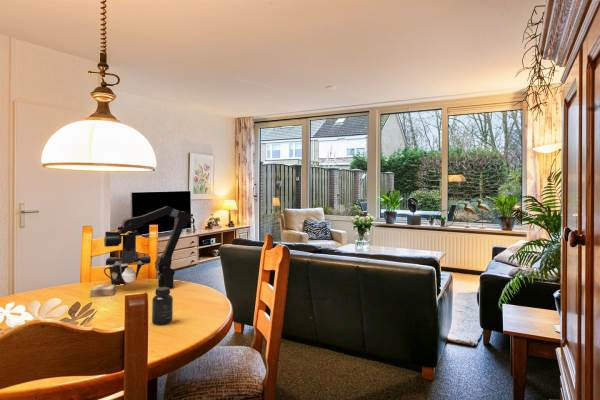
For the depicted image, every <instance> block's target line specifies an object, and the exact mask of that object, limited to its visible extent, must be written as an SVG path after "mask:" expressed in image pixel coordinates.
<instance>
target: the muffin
mask: <svg viewBox="0 0 600 400" xmlns="http://www.w3.org/2000/svg"><path fill="white" fill-rule="evenodd" d="M122 278H123V279H124V281H125V282H126V283H133V281H134V280H135V279H136V271H135V270H134V268H133V267H131V266H128V267H127V268H125V271H124V272H123V273H122Z"/></svg>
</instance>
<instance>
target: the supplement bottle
mask: <svg viewBox="0 0 600 400" xmlns="http://www.w3.org/2000/svg"><path fill="white" fill-rule="evenodd" d="M154 291H155V292H154V293H155V295H154V296H153V298H152V300H151V323H152V325H155V326H166V325H169V324H170V323H172V322H173V319H174V318H173V317H174V315H173V313H174V311H173V309H174V304H173V303H174V299H173V296H172V295H171V288H169V287H156V288H155V290H154Z"/></svg>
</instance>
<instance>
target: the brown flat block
mask: <svg viewBox="0 0 600 400" xmlns="http://www.w3.org/2000/svg"><path fill="white" fill-rule="evenodd" d="M116 292H117V286H116V285H111V284H104V285H103V284H102V285H94V286H93V287H92V288H91V290H90V298H101V297H102V298H103V297H113V296H115V293H116Z"/></svg>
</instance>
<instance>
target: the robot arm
mask: <svg viewBox="0 0 600 400" xmlns="http://www.w3.org/2000/svg"><path fill="white" fill-rule="evenodd" d="M165 216H169V217H172V218H174V222H173V225H174V226H173V228H172V231H171V234H170V236H169V239H168V240H167V243H166V246H165V248H164V251H163V252H162V254H161V255H157V257H156V260H155V261H154V268H155V270H156V271H157V272H158V273H159V278H158V286H157V288H159V287H169V288H170V289H174V287H175V286H174V276H175V274H176V272H175V270H174V269H173V268H172V260H173V259H172V257H173V254H174V252H175V249H176V247H177V245H178V242H179V239H180V237H181V235H182V232H183V230H184V229H185V228H186V226H187V225H188V223H189V222H190V220H191V214H190V212H188V211H184V210H183V211H182V210H178V209H175V208H172V207H171V206H168V205H166V206H164V207H162V208H158V209H156V210H154V211H151V212H148V213H146V214H142V215H139V216H134V217H130V218H129V217H128V218H125V219H124V220H122V223H121V226H120V228H119V229H118V230H117V231H105V234H104V238H103V240H104V241H103V242H104V243H103V245H104V247H105V248H106V247H107V248H108V247H119V246H120V245H122V250H121V251H122V253H121V258H118V257H117V256H114V257H111V256H109V257H107V258H106V260H105V266H110V265H112V266H113V267H115V268H116V269H117V271H118V273H119V276H120V279H122V270H121V264H133V263H137V264H136V271H135V272H136V275H135V279H137V278H138V276H139V272H140V270H141V268H142V266H145V264H150V263H151V262H152V259H151V256H150V255H142V256H141V257H139V252H138V251H137V236H138V237H139V236H141V233H140V232H139V231H138V230H137V229H139V228H141V227H143V225H145V224H147V223H150V222H153V221H155V220H157V219H160V218H162V217H165Z"/></svg>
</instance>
